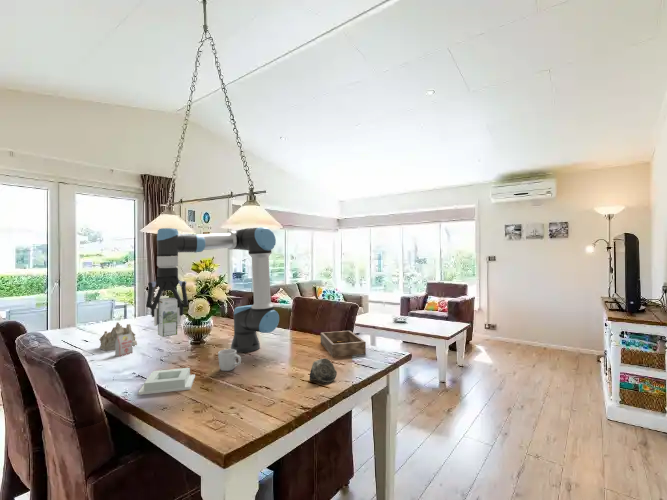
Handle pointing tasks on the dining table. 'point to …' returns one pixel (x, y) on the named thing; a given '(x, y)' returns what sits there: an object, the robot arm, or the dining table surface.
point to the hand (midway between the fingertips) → (167, 324)
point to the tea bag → (123, 345)
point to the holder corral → (343, 349)
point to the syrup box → (167, 317)
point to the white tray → (168, 381)
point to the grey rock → (115, 337)
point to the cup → (228, 359)
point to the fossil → (323, 371)
